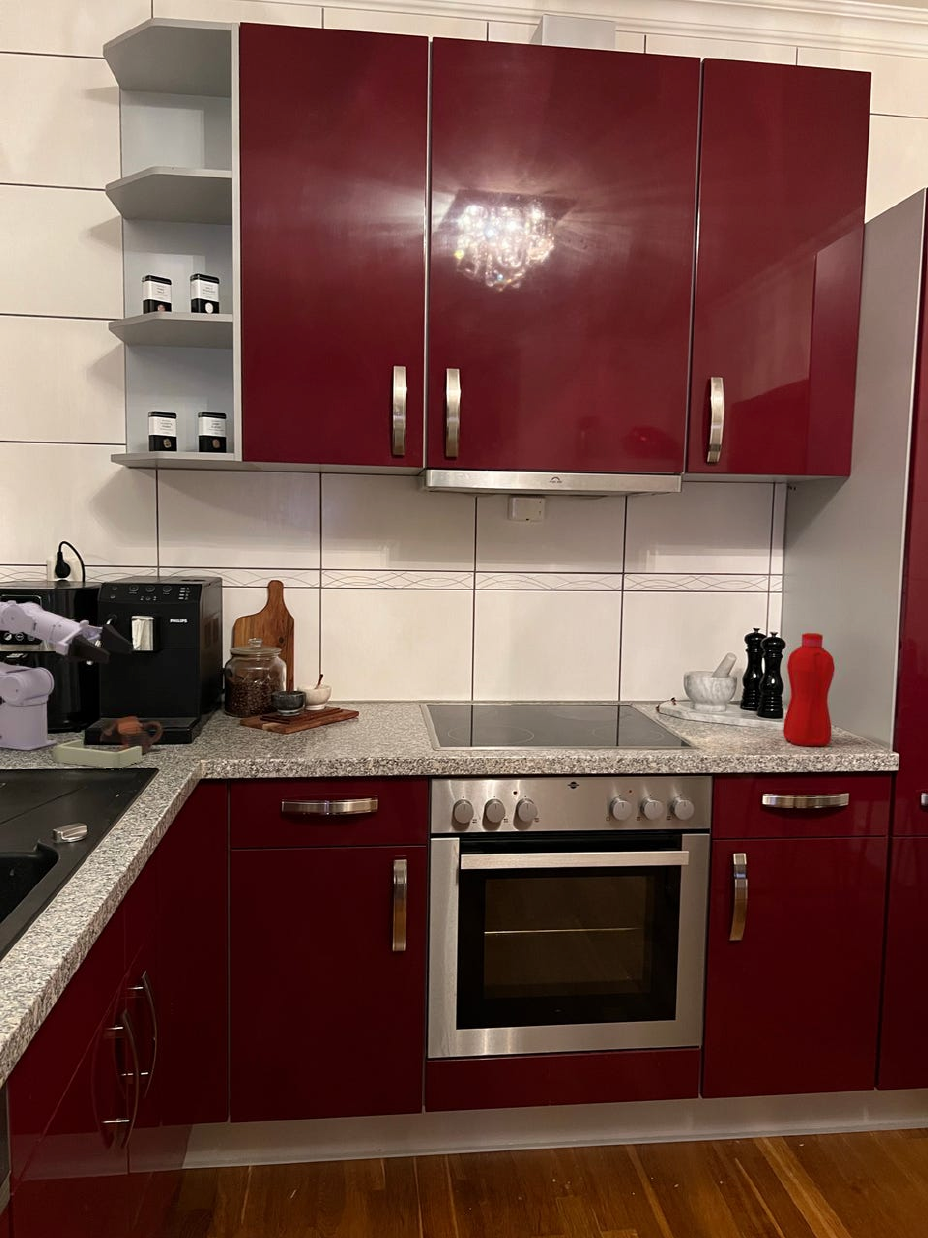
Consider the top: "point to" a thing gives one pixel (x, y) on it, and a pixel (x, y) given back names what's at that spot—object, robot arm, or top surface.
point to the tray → (95, 755)
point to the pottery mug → (131, 733)
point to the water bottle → (809, 693)
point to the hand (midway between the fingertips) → (119, 653)
